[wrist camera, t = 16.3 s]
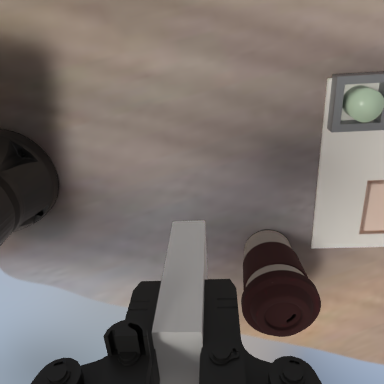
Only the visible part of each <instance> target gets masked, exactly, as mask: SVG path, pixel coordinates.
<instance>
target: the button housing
mask: <svg viewBox="0 0 384 384" xmlns="http://www.w3.org/2000/svg"><path fill="white" fill-rule="evenodd" d="M365 83H379V90H378V92H380V93H381V94H382V96H383V98H384V72H366V73H348V74H333V75H332V84H331V94H330V104H329V114H328V123H327V129H328V130H329V131H330V132H352V131H374V130H384V108H383V111H382V112H381V114H380V115H379V116H378V117H377V118H376V119H374V120H372V121H370V122H359V121H357V120H341V114H342V106H343V97H344V89H345V85H347V84H365Z"/></svg>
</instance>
